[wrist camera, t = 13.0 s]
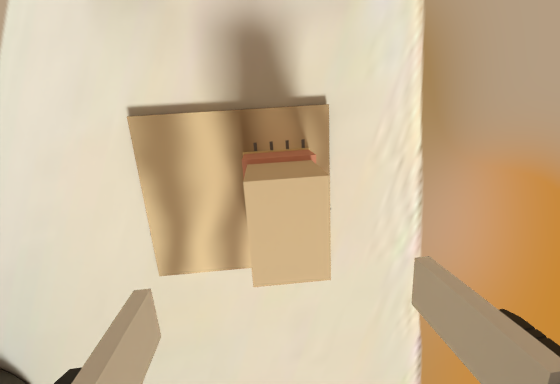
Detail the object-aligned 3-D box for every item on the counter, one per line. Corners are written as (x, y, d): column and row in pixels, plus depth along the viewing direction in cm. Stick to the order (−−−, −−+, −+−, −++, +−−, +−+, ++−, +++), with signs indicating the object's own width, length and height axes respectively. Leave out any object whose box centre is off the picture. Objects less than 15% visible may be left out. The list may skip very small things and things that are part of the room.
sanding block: (250, 232, 28) (246, 294, 18) (243, 152, 26) (233, 174, 16) (311, 227, 28) (337, 285, 19) (308, 147, 26) (337, 166, 17)
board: (161, 273, 29) (159, 276, 29) (129, 116, 25) (126, 116, 24) (329, 258, 30) (330, 260, 30) (327, 104, 26) (328, 104, 25)
